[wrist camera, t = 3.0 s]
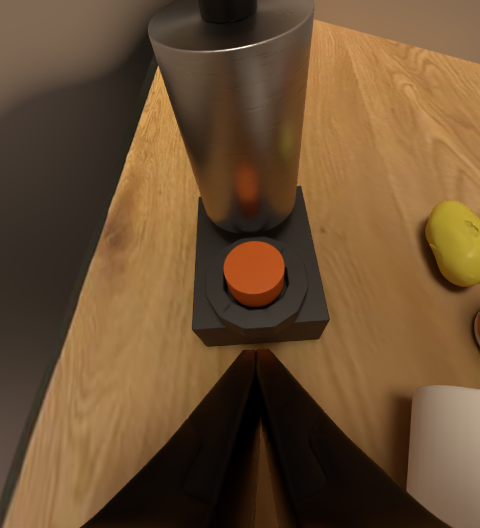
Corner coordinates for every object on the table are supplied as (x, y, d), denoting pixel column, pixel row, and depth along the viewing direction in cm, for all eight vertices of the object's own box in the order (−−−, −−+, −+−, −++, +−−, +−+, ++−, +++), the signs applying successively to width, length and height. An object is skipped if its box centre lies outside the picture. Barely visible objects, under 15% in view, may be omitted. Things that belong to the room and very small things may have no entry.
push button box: (321, 349, 21) (338, 322, 15) (206, 356, 21) (182, 333, 16) (297, 220, 27) (303, 168, 22) (209, 229, 28) (193, 181, 22)
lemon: (426, 290, 22) (453, 267, 19) (413, 215, 26) (434, 185, 23) (484, 297, 21) (523, 274, 18) (462, 218, 25) (491, 188, 22)
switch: (287, 305, 17) (288, 291, 15) (228, 309, 17) (223, 296, 15) (280, 255, 18) (280, 238, 17) (228, 260, 19) (223, 243, 17)
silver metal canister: (302, 229, 19) (338, -15, 8) (203, 238, 19) (118, 21, 9) (288, 161, 22) (302, -69, 12) (205, 171, 23) (147, -42, 12)
